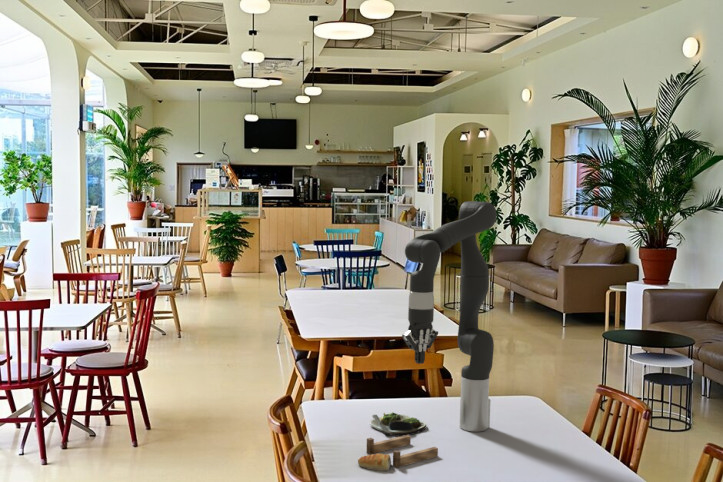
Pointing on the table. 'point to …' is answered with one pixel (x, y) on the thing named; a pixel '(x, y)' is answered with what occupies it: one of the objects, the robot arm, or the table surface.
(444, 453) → the table surface
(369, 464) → the pastry
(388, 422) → the salad plate
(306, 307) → the table surface
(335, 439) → the table surface
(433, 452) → the pair of wooden bars
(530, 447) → the table surface
